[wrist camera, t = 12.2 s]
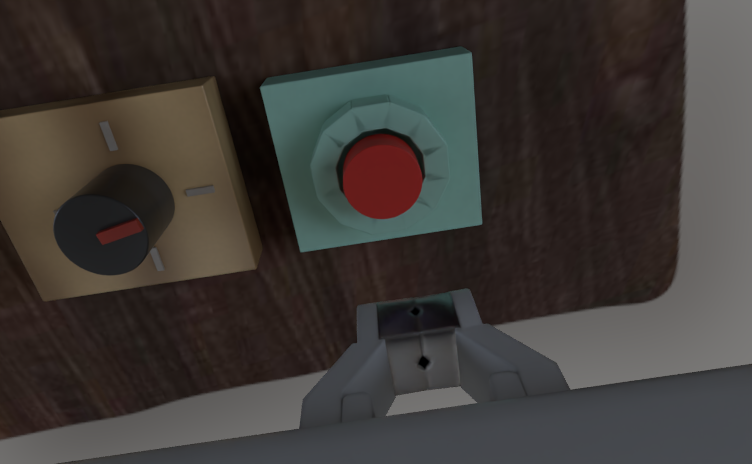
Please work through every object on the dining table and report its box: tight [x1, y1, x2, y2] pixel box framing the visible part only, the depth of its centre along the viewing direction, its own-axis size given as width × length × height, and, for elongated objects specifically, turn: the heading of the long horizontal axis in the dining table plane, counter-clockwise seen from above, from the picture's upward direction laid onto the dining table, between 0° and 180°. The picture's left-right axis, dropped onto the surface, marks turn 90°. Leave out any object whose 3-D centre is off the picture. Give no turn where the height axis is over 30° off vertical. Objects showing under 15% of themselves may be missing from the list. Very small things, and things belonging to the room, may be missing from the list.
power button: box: [343, 134, 423, 219], centre depth 24 cm, size 4×4×2 cm
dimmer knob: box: [53, 164, 175, 276], centre depth 24 cm, size 4×4×4 cm
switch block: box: [260, 47, 482, 252], centre depth 26 cm, size 10×9×4 cm
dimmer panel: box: [0, 76, 263, 301], centre depth 27 cm, size 12×10×3 cm
